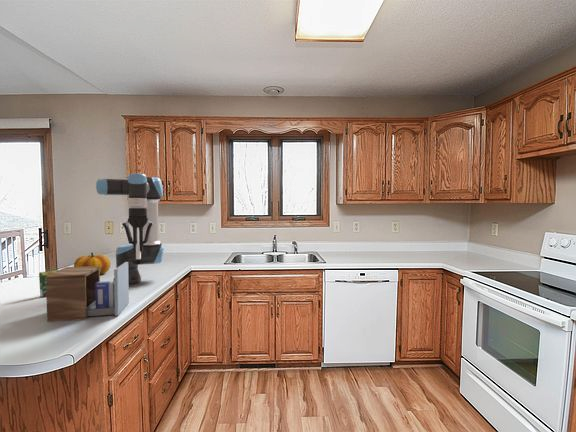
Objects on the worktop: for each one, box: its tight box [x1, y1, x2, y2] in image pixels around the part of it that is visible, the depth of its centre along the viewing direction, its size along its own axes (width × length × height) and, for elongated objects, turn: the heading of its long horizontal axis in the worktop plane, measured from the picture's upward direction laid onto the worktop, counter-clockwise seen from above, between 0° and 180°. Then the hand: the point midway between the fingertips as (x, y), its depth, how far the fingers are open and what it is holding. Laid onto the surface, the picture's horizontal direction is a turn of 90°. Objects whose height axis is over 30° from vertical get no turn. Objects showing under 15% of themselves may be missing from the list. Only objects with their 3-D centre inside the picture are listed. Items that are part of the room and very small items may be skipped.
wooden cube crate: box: [45, 266, 101, 323], centre depth 133 cm, size 17×14×19 cm
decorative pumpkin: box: [73, 252, 111, 275], centre depth 203 cm, size 20×22×15 cm
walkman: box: [95, 281, 115, 309], centre depth 136 cm, size 8×3×12 cm, turn 94°
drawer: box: [87, 262, 130, 317], centre depth 136 cm, size 17×14×20 cm
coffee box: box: [38, 269, 60, 298], centre depth 158 cm, size 8×3×13 cm, turn 150°
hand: (138, 258), depth 139 cm, fingers closed
